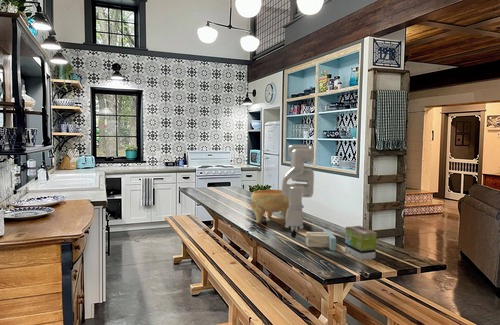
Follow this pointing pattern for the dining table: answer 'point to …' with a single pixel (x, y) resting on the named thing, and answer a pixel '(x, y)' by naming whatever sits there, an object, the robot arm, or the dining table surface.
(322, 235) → the maple brick
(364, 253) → the tea box
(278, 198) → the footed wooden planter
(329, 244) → the board
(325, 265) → the dining table surface
